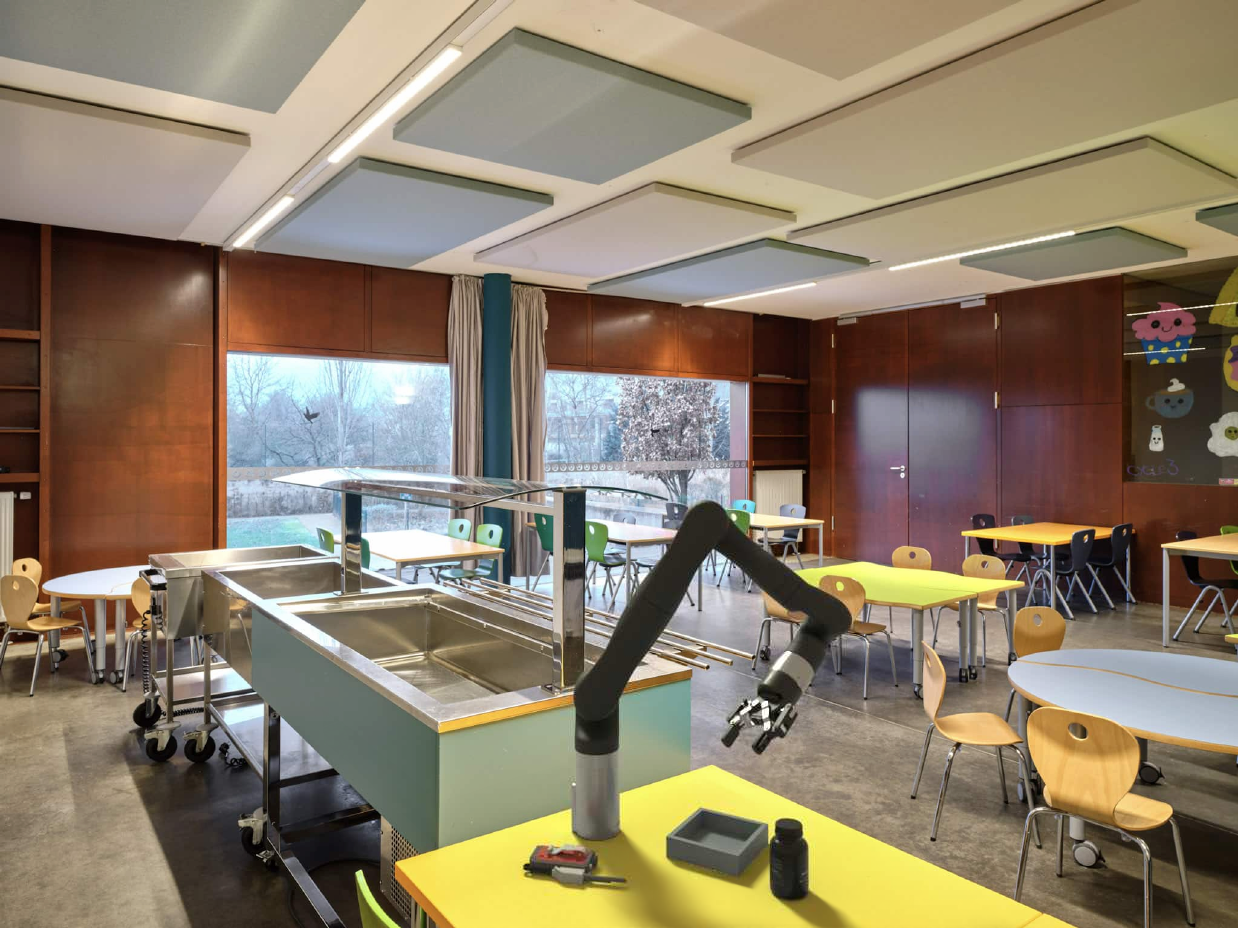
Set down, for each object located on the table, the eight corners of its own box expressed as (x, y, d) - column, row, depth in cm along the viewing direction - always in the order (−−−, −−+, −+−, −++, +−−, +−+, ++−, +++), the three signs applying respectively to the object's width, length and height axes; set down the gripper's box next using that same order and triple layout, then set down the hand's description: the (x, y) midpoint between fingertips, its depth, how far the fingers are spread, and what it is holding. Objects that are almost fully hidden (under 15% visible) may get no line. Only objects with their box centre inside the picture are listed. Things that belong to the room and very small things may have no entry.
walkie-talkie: (518, 881, 146) (625, 892, 142) (518, 857, 146) (624, 867, 142) (533, 857, 154) (634, 867, 150) (533, 834, 154) (634, 844, 150)
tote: (666, 857, 153) (666, 836, 153) (700, 826, 166) (700, 807, 166) (738, 877, 145) (738, 856, 145) (768, 843, 158) (768, 823, 158)
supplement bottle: (813, 901, 137) (812, 832, 137) (773, 901, 137) (772, 832, 137) (804, 880, 144) (803, 814, 144) (766, 880, 144) (766, 815, 144)
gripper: (750, 665, 157) (703, 728, 149) (802, 669, 145) (754, 738, 137) (770, 692, 158) (725, 756, 150) (823, 699, 147) (778, 769, 138)
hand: (739, 747), depth 144 cm, fingers open, 8 cm apart
